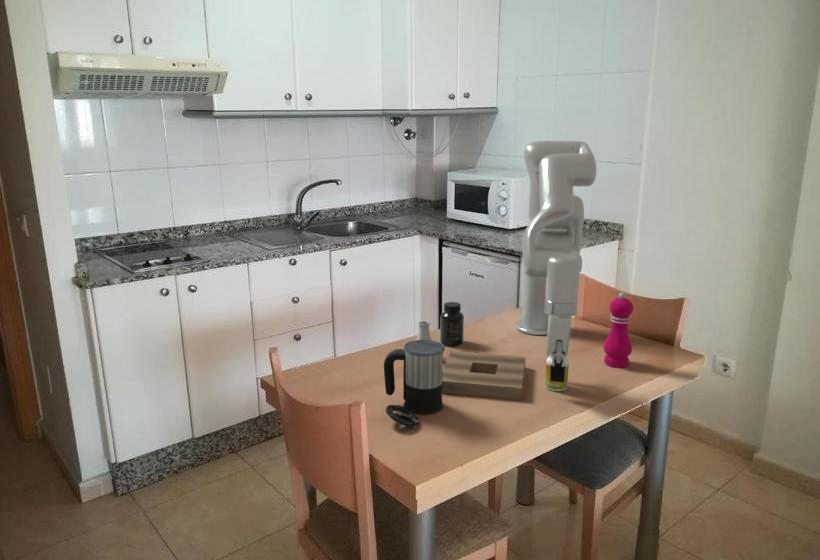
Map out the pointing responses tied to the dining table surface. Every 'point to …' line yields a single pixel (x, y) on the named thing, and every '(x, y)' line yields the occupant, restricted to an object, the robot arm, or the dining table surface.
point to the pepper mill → (619, 333)
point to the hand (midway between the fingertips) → (556, 373)
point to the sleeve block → (484, 375)
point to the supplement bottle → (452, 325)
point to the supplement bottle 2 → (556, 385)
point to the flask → (423, 331)
